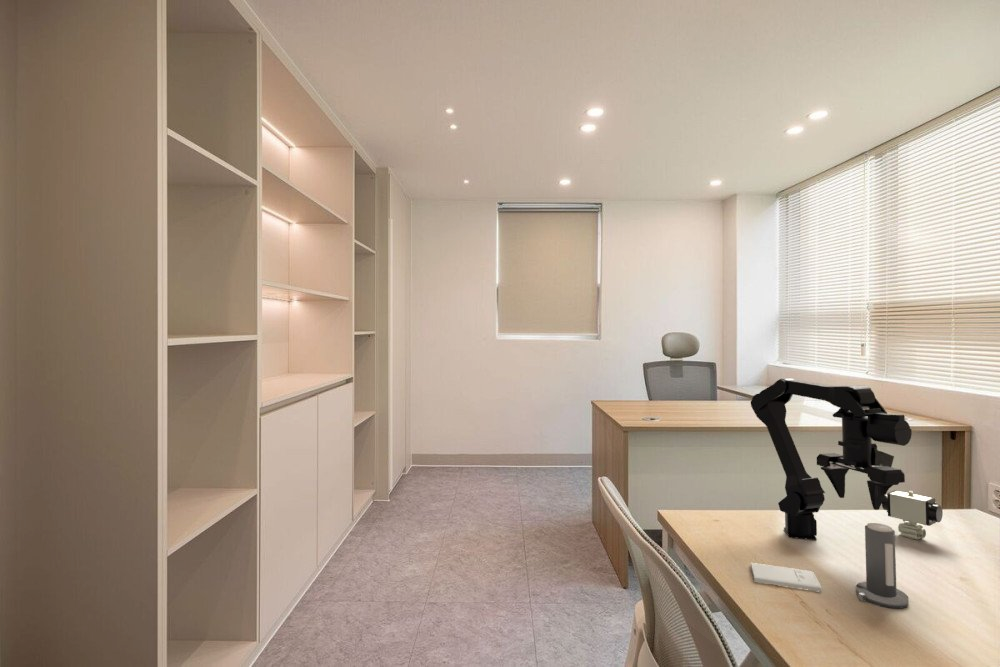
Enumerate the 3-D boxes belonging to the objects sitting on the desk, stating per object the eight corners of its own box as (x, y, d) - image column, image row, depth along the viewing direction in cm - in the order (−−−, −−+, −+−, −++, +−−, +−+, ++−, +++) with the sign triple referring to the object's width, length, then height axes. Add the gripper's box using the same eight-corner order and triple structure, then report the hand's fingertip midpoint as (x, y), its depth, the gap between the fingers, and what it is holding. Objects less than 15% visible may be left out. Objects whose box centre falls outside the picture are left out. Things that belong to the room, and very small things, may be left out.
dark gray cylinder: (861, 585, 102) (859, 521, 103) (886, 586, 102) (884, 522, 102) (877, 598, 97) (876, 531, 97) (904, 599, 97) (902, 532, 97)
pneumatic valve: (936, 546, 125) (935, 498, 125) (882, 532, 135) (880, 487, 135) (945, 541, 128) (943, 495, 128) (890, 527, 138) (889, 484, 138)
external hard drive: (750, 568, 114) (813, 577, 110) (754, 584, 106) (821, 594, 102) (750, 561, 114) (812, 569, 110) (754, 577, 106) (821, 586, 102)
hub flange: (879, 585, 105) (879, 580, 105) (920, 606, 96) (919, 599, 96) (842, 590, 103) (841, 584, 103) (880, 611, 95) (880, 604, 95)
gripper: (924, 444, 111) (926, 513, 111) (850, 430, 130) (852, 490, 129) (882, 446, 109) (884, 517, 109) (814, 432, 128) (815, 493, 127)
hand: (858, 503), depth 119 cm, fingers open, 9 cm apart
